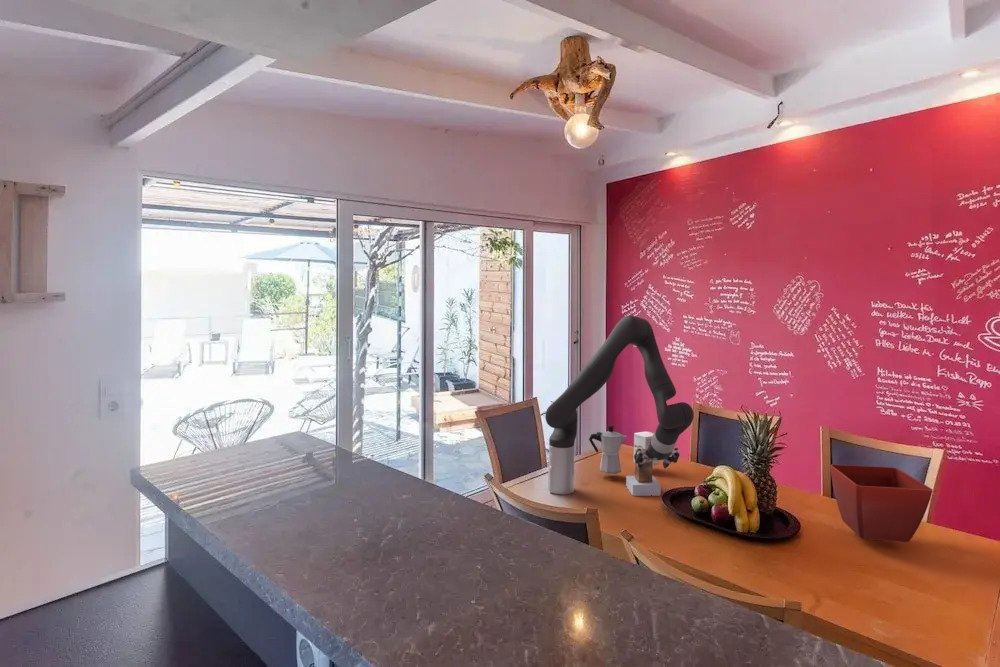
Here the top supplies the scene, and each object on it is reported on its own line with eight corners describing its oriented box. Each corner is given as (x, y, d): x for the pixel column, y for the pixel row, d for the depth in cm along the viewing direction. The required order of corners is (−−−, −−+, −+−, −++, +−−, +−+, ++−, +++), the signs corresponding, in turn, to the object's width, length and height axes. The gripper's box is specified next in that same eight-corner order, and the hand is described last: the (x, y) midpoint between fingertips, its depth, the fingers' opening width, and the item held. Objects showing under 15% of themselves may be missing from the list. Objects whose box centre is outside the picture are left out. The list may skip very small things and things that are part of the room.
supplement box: (632, 462, 226) (633, 432, 225) (647, 460, 229) (647, 430, 228) (644, 467, 219) (645, 436, 218) (659, 465, 222) (659, 434, 221)
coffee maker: (625, 467, 220) (625, 423, 219) (628, 474, 211) (628, 428, 210) (587, 466, 222) (588, 422, 220) (589, 473, 213) (589, 427, 212)
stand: (632, 495, 197) (632, 485, 197) (626, 486, 207) (626, 475, 207) (660, 495, 197) (660, 484, 197) (652, 485, 207) (652, 475, 207)
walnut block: (638, 482, 199) (639, 453, 198) (635, 478, 204) (635, 449, 203) (652, 482, 199) (652, 453, 198) (648, 477, 204) (648, 449, 203)
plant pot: (931, 549, 149) (934, 489, 148) (854, 544, 153) (857, 485, 151) (894, 520, 168) (896, 467, 167) (826, 516, 172) (828, 463, 170)
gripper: (681, 432, 181) (669, 456, 194) (639, 433, 181) (629, 456, 193) (687, 452, 176) (674, 475, 189) (643, 453, 176) (633, 476, 188)
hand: (652, 466), depth 191 cm, fingers open, 8 cm apart
